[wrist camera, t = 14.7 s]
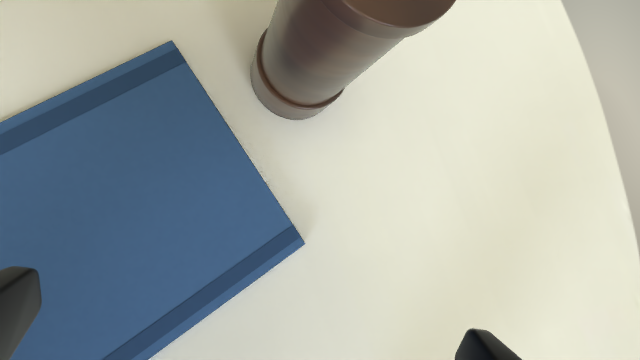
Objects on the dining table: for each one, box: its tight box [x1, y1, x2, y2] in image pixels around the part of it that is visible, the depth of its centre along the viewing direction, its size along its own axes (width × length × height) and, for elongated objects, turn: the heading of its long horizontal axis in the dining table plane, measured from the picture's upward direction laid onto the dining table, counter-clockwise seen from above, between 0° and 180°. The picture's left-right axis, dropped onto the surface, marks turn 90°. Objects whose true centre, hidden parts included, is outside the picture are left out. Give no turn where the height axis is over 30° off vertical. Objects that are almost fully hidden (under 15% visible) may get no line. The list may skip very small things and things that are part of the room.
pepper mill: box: [251, 0, 456, 120], centre depth 15 cm, size 5×5×12 cm
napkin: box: [0, 41, 305, 360], centre depth 18 cm, size 17×13×1 cm
